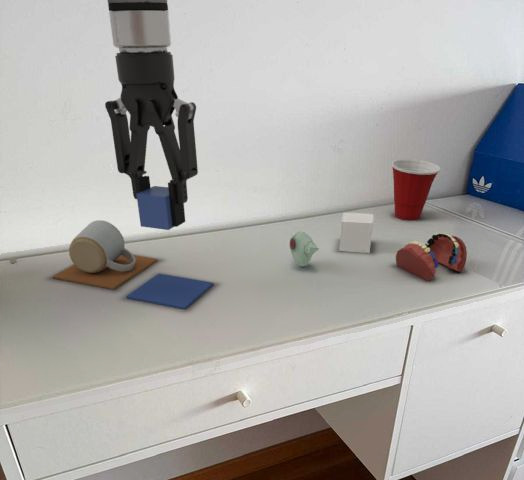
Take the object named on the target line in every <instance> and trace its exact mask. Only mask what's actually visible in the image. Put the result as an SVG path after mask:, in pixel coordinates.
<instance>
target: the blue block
mask: <svg viewBox="0 0 524 480" xmlns="http://www.w3.org/2000/svg"><path fill="white" fill-rule="evenodd" d="M150 187H151V188H149V189H146V190H144V191H142V192H140V193H137V194H136V195H137V199H136V202H137V208H138V209H137V210H138V216H139V222H140V223H139V225H140V227H141V228H142V227H143V228H149V229H150V228H151V229H157V230H165V231H169V230H171V229H173V228H175V227H174V226H172V217H171V207H170V197H169V189H168V186H160V185H159V186H158V185H153V186H150Z"/></svg>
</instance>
